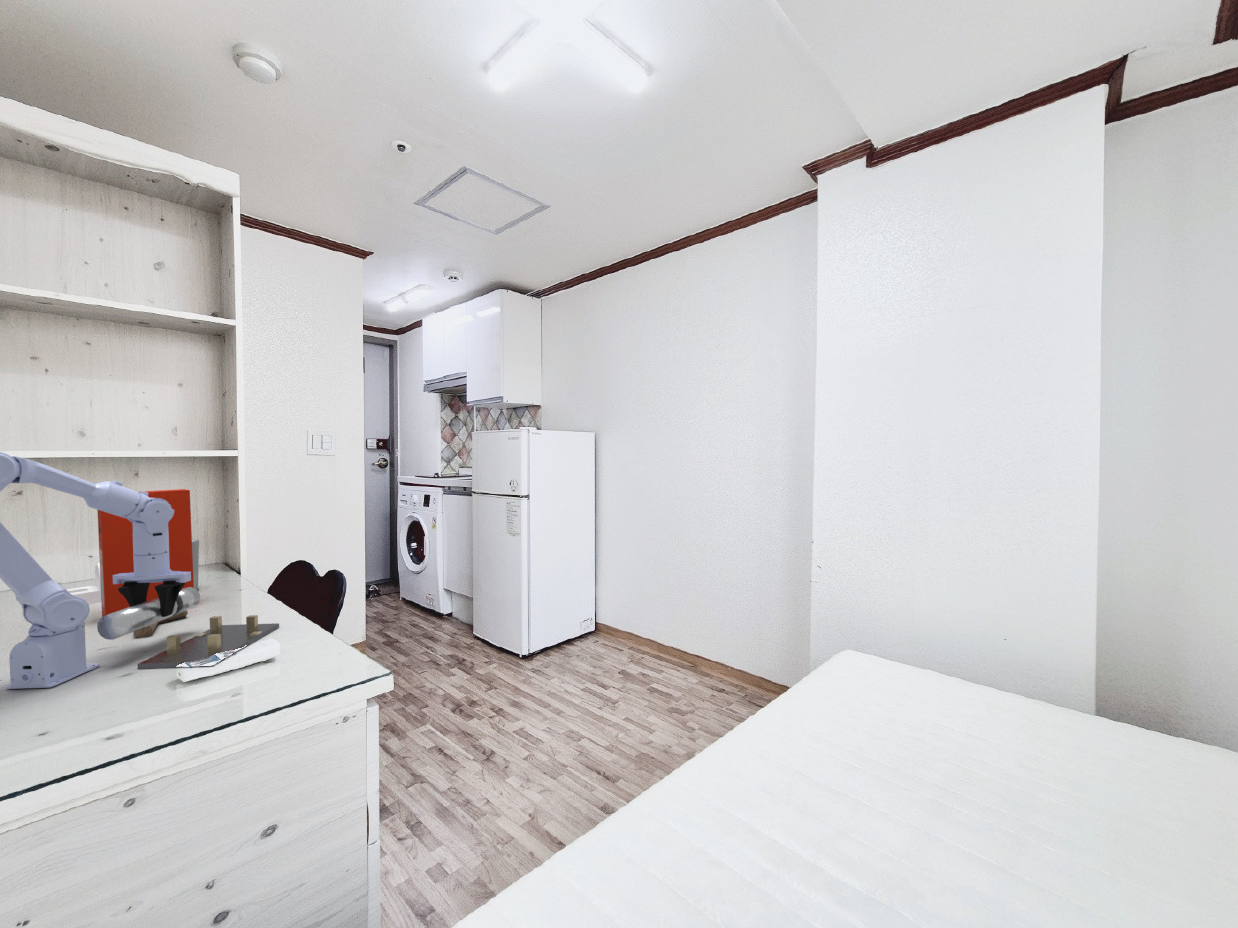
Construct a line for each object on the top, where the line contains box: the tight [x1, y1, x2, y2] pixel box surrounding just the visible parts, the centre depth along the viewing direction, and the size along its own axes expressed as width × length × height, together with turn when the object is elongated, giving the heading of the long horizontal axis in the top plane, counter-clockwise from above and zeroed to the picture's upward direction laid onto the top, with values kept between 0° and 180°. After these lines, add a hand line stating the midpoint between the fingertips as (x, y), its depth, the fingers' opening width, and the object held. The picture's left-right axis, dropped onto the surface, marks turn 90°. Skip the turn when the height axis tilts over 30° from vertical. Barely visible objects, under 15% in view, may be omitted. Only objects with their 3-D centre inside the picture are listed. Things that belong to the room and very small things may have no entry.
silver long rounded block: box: [96, 587, 201, 641], centre depth 111 cm, size 20×5×6 cm, turn 3°
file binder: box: [96, 488, 194, 618], centre depth 136 cm, size 8×17×32 cm, turn 140°
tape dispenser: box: [65, 562, 102, 605], centre depth 150 cm, size 10×18×11 cm, turn 141°
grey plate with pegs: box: [137, 614, 280, 670], centre depth 112 cm, size 22×14×4 cm, turn 3°
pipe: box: [133, 610, 189, 639], centre depth 125 cm, size 6×17×10 cm
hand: (153, 615), depth 111 cm, fingers closed on silver long rounded block, 5 cm apart
